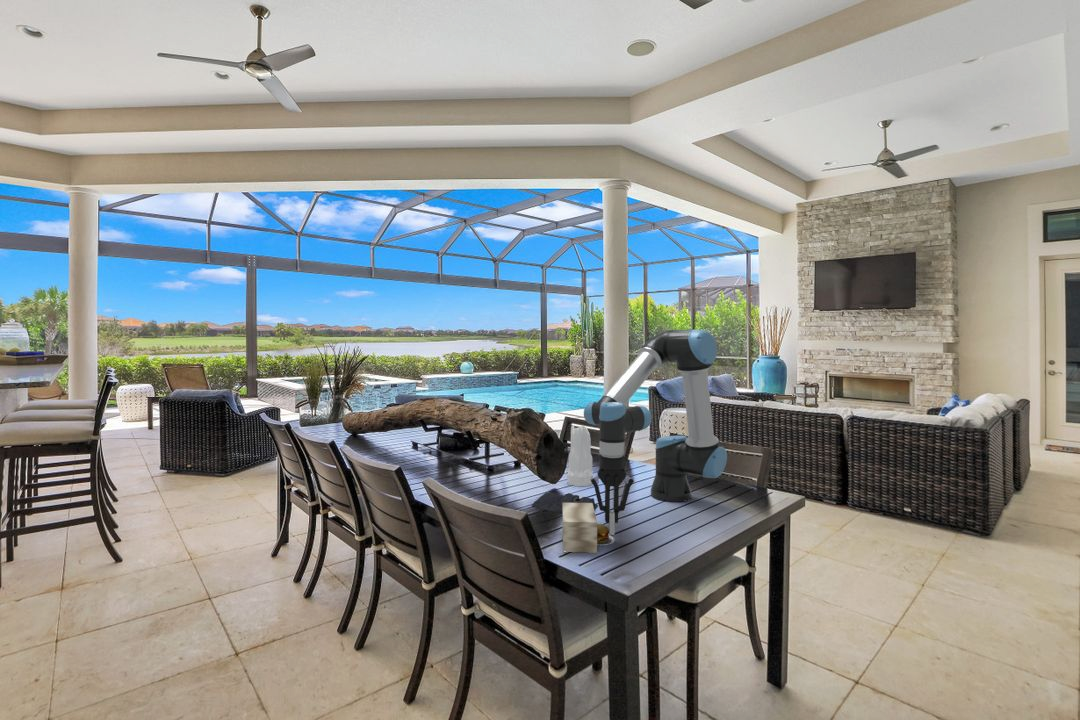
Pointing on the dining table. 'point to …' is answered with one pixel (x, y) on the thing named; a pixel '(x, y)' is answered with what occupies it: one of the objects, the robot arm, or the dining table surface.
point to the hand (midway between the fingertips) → (611, 533)
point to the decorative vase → (580, 457)
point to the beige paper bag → (579, 527)
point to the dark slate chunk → (560, 501)
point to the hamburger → (603, 534)
